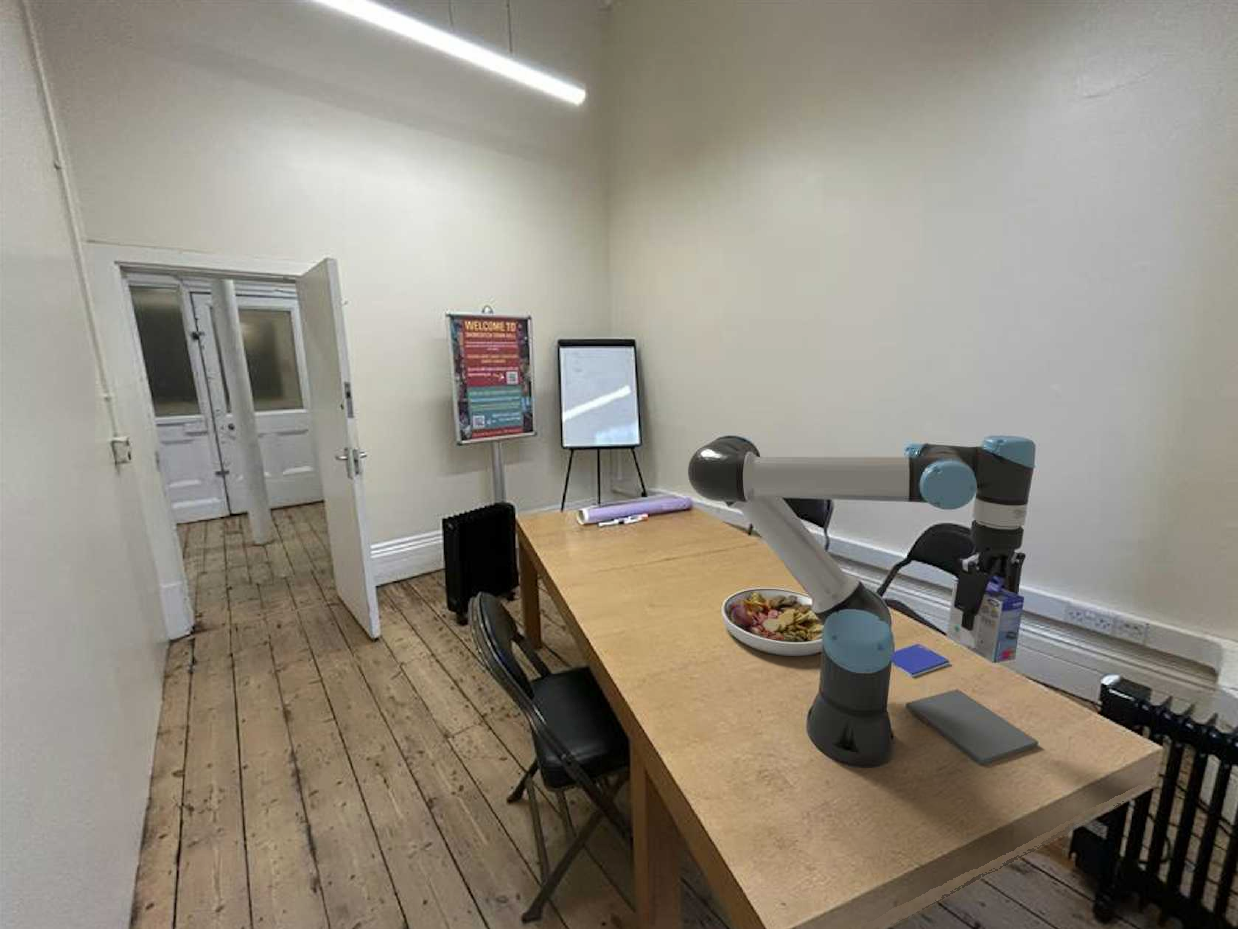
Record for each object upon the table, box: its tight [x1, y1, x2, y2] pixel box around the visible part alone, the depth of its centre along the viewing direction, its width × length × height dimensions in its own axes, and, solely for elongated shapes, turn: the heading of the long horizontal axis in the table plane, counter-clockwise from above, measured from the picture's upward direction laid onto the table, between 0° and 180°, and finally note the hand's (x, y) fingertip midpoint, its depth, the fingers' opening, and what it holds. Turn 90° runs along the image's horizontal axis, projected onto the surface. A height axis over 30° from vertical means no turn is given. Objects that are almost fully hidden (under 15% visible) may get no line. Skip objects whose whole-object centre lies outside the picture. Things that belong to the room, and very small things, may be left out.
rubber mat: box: [905, 688, 1039, 766], centre depth 99 cm, size 14×16×1 cm
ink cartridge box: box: [946, 573, 1025, 664], centre depth 95 cm, size 10×6×14 cm, turn 17°
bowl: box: [721, 587, 824, 657], centre depth 135 cm, size 30×30×8 cm
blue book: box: [891, 643, 950, 678], centre depth 121 cm, size 2×8×12 cm
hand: (980, 641), depth 96 cm, fingers closed on ink cartridge box, 5 cm apart
